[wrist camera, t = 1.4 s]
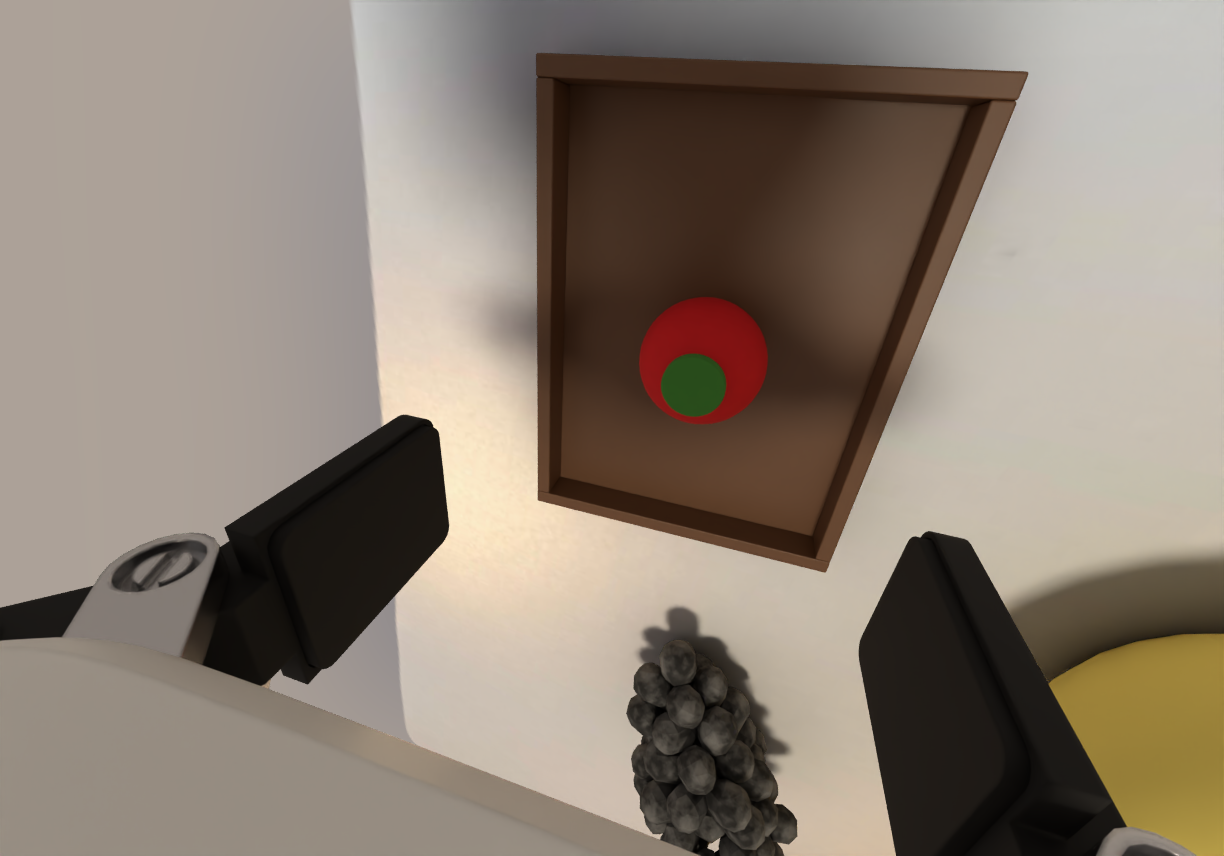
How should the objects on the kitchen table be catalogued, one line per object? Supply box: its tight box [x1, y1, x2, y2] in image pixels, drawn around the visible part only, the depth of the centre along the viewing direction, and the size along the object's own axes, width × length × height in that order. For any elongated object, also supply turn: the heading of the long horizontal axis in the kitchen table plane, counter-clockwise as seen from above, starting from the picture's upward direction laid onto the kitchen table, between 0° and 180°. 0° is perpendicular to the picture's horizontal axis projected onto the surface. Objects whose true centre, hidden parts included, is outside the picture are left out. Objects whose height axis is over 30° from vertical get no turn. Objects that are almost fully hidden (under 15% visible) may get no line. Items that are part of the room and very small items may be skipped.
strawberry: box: [639, 297, 768, 424], centre depth 17 cm, size 4×4×5 cm
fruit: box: [626, 639, 797, 856], centre depth 26 cm, size 9×8×15 cm
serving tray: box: [536, 53, 1028, 572], centre depth 18 cm, size 17×13×2 cm
